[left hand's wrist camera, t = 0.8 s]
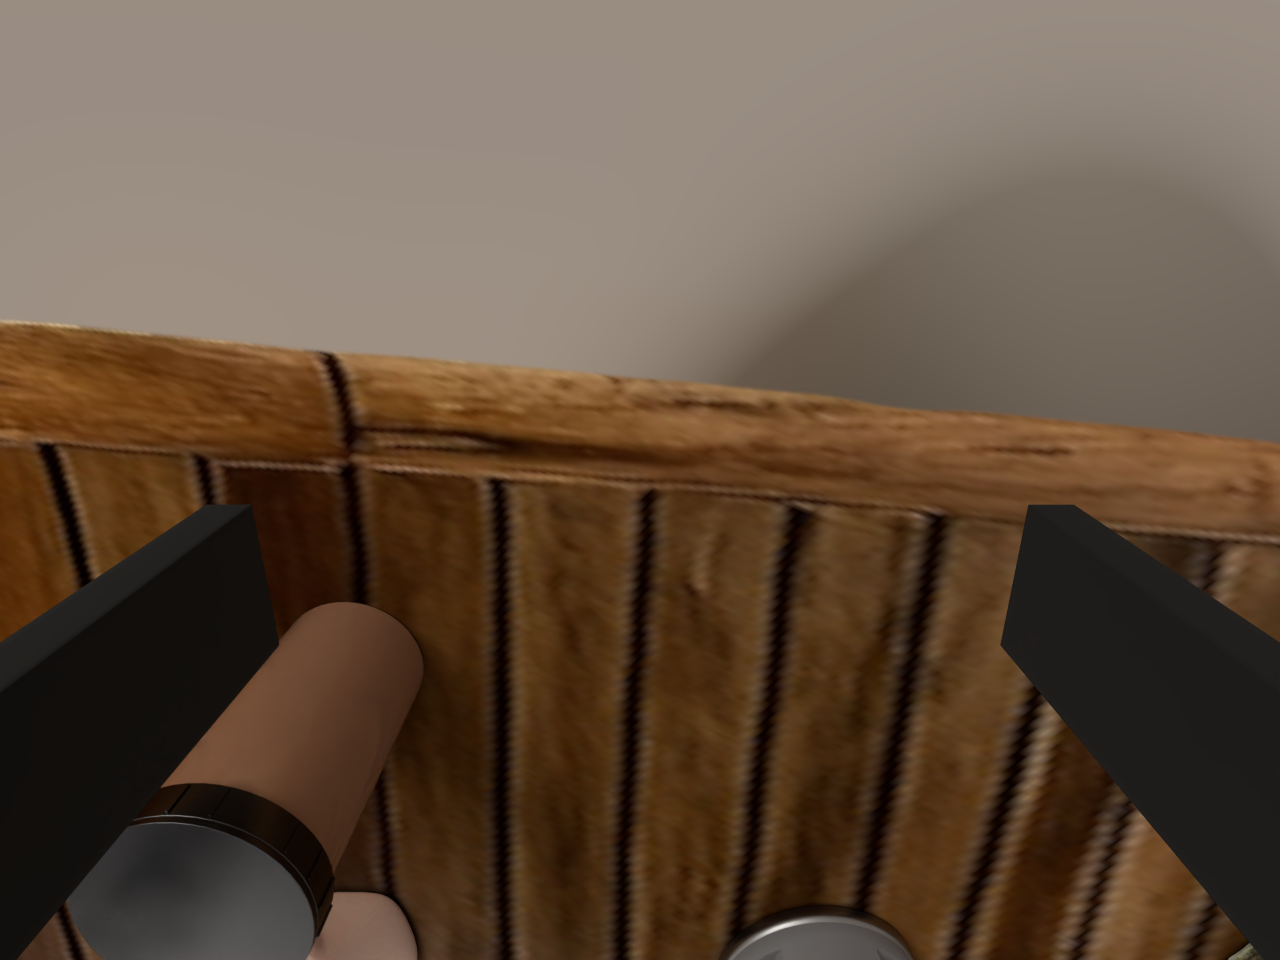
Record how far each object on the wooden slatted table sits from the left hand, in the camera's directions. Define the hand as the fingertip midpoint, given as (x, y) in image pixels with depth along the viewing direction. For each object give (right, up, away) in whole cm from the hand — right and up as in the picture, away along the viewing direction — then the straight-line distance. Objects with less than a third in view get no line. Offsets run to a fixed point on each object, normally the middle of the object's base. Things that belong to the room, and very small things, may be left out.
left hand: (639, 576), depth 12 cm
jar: (-18, -10, +34) cm, 39 cm away
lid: (-18, -16, +17) cm, 30 cm away
